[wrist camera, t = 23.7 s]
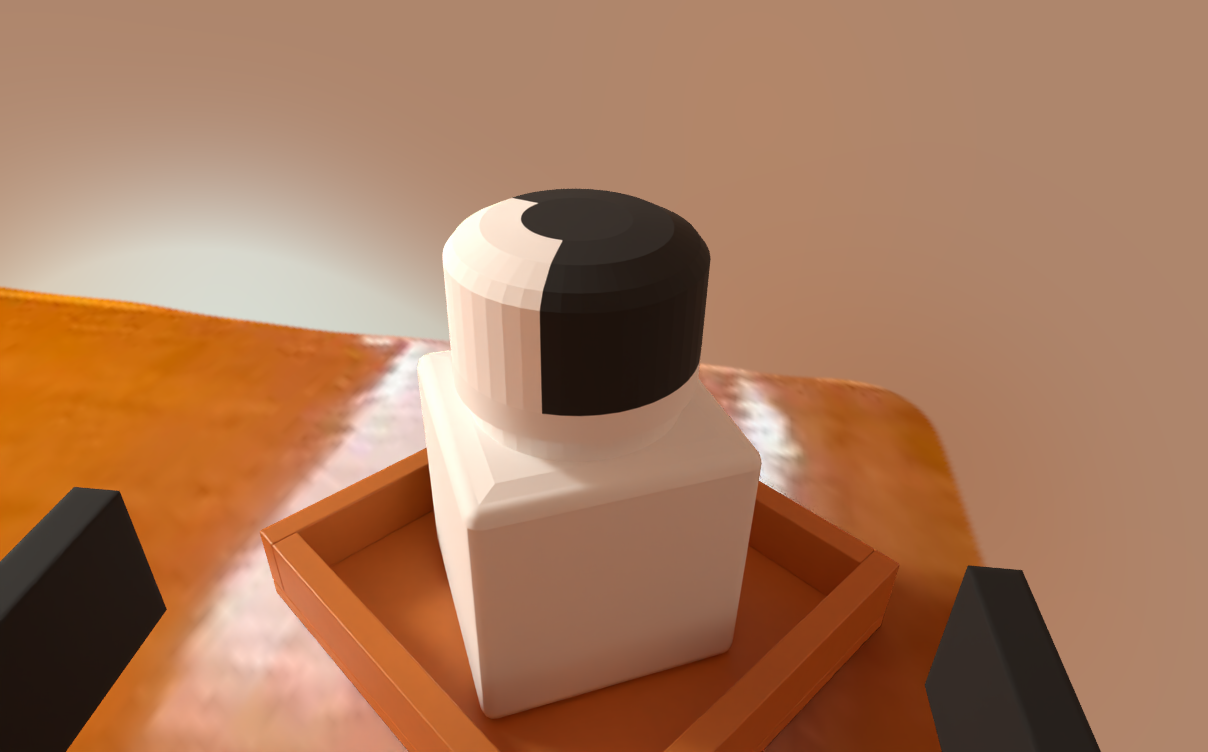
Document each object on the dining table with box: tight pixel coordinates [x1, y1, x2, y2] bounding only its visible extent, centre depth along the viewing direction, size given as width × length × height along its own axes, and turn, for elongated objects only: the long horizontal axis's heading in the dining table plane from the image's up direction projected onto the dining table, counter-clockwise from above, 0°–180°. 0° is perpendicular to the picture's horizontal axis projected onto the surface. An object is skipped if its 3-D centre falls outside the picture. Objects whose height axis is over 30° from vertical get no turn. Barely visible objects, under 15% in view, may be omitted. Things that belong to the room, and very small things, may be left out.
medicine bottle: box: [417, 189, 762, 719], centre depth 21 cm, size 7×7×12 cm
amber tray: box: [260, 448, 899, 752], centre depth 24 cm, size 14×13×3 cm
